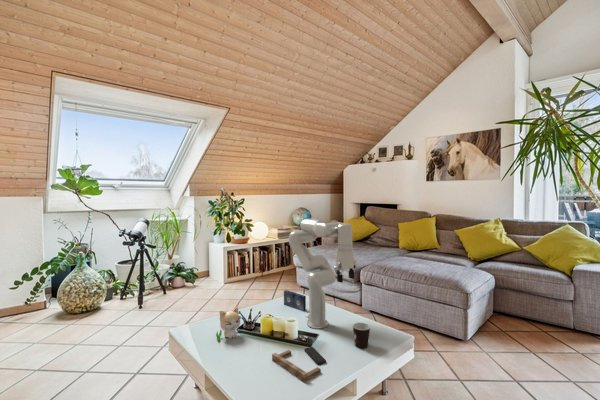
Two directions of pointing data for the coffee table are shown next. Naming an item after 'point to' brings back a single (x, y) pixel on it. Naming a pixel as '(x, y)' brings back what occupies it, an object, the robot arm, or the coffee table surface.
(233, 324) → the kitten
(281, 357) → the walnut frame
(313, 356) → the remote control
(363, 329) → the coffee mug
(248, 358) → the coffee table surface
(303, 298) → the vhs cassette tape
